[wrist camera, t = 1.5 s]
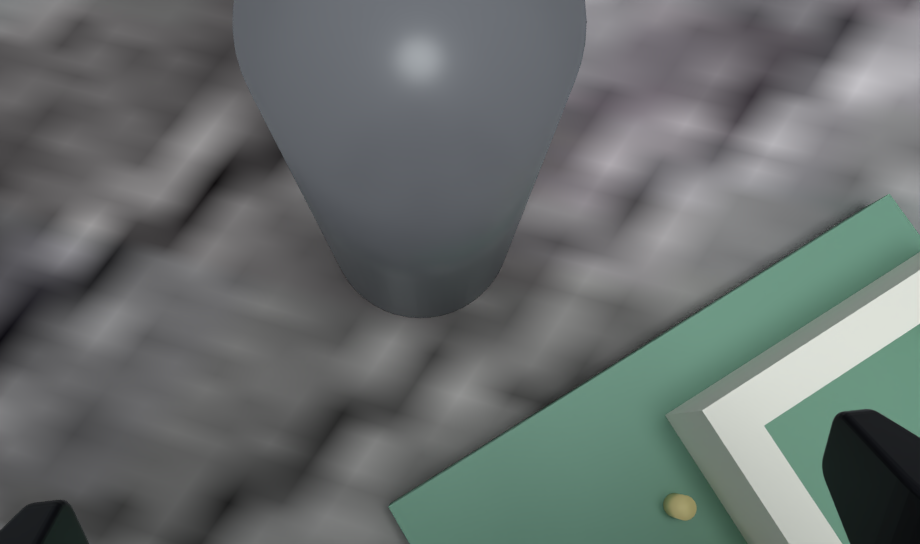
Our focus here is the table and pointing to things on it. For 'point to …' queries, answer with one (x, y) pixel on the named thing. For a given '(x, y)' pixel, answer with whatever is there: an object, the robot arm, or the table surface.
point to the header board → (708, 414)
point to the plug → (413, 129)
